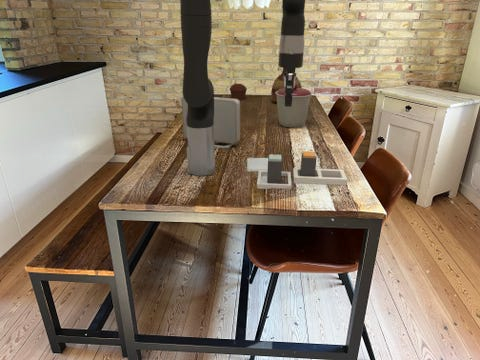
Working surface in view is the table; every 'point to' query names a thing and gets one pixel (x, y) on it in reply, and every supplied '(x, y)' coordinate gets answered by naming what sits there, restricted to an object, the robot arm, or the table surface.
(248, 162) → the hard drive
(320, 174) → the white compartment holder
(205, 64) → the robot arm
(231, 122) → the network device
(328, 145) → the table surface
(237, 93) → the muffin
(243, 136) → the table surface
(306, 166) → the dark grey orange block
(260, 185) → the tray
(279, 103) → the canister
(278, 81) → the ceramic pitcher
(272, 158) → the dark board eraser
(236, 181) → the table surface
